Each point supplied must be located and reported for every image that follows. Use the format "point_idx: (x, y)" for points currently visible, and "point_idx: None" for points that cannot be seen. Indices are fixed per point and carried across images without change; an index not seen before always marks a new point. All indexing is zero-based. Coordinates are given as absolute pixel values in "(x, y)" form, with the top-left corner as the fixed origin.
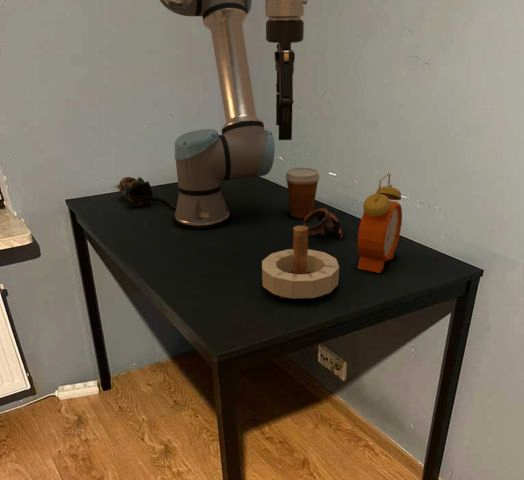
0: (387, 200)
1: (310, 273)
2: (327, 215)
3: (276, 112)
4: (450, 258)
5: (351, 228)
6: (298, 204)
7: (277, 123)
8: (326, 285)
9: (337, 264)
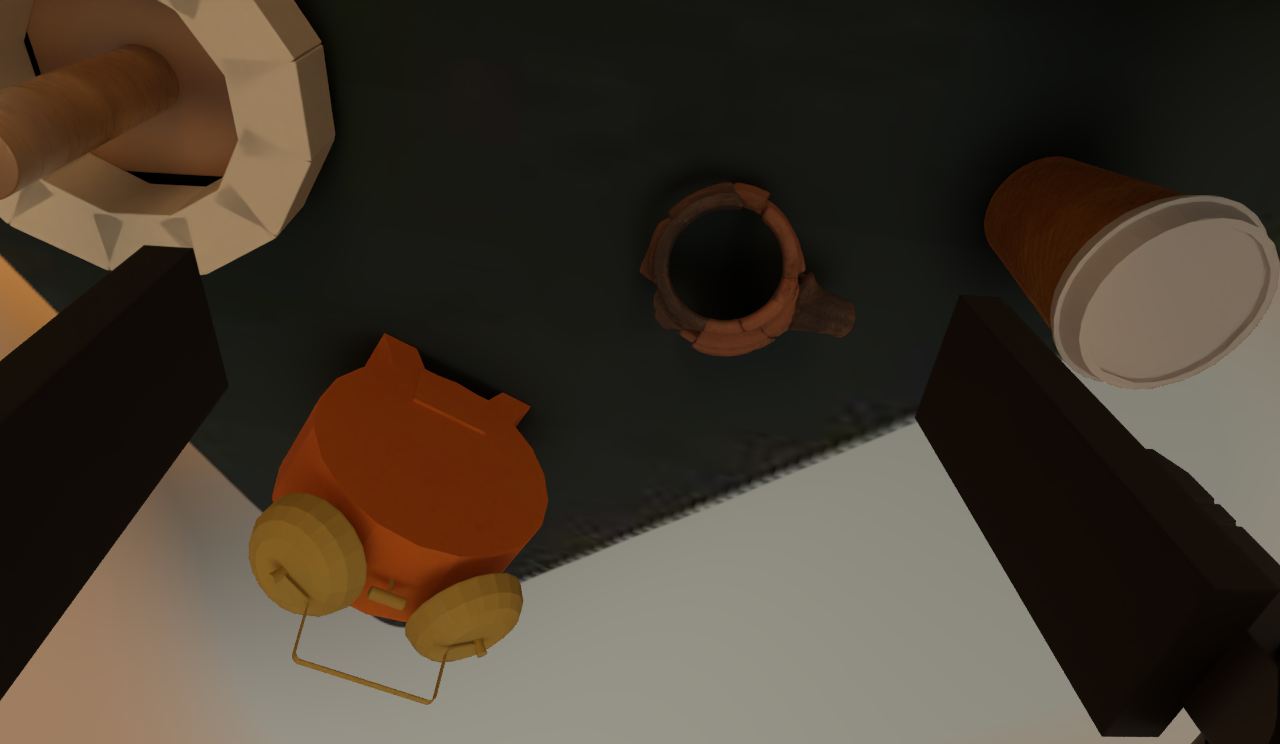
0: (283, 608)
1: None
2: (690, 324)
3: (1034, 384)
4: None
5: (793, 382)
6: (1026, 212)
7: (961, 319)
8: None
9: None
